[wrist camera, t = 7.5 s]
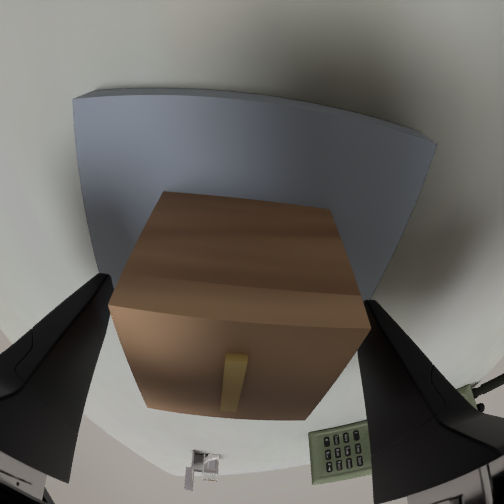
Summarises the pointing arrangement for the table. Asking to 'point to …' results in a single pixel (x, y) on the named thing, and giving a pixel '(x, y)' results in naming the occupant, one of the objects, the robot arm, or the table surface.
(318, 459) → the handheld radio
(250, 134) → the light switch plate
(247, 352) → the taped cardboard box
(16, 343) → the robot arm
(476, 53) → the table surface
